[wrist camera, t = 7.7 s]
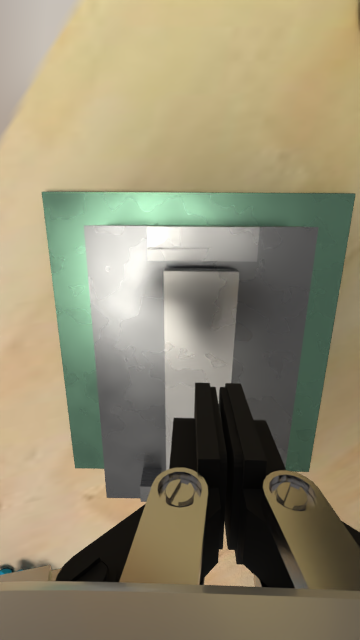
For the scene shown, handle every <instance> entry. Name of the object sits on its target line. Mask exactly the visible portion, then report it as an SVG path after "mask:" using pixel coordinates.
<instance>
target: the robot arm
mask: <svg viewBox="0 0 360 640" xmlns="http://www.w3.org/2000/svg"><path fill="white" fill-rule="evenodd" d="M224 521H225V530H226V538H227V546H228V549H229V550H235V555H236V562H237V564H243V565H245V566H246V567H247V568H248V569H249V570H250V571H251V572H252V573H253V574H254V584H255V587H242V586H215V585H204V581H205V576H206V575H207V574H208V573H209V572H210V571H211V570H212V568H213V567H214V566H215V565H216V564H217V563H218V552H219V549H223V535H224ZM0 640H360V532H358V531H357V530H355V529H353V528H352V527H350V526H349V525H347V524H345V523H344V522H342V521H341V520H340V518H339V517H338V516H337V514H336V513H335V511H334V510H333V508H332V507H331V505H330V504H329V503H328V501H327V500H326V498H325V497H324V495H323V494H322V492H321V491H320V489H319V488H318V487H317V486H316V485H315V484H314V483H313V482H312V481H311V480H309V479H308V478H307V477H305V476H303V475H301V474H299V473H296V472H292V471H286V468H285V466H284V463H283V461H282V458H281V456H280V453H279V451H278V449H277V446H276V444H275V441H274V439H273V436H272V434H271V431H270V429H269V426H268V424H267V422H266V420H253V418H252V415H251V412H250V409H249V406H248V403H247V400H246V397H245V394H244V391H243V388H242V385H241V383H226V384H225V387H220V390H219V404H218V398H217V392H216V387H210V383H195V403H194V418H174V419H173V430H172V442H171V454H170V465H169V469H168V470H166V471H164V472H162V473H161V474H159V475H158V476H157V477H156V478H155V480H154V482H153V484H152V487H151V490H150V493H149V496H148V499H147V501H146V504H145V505H143V506H142V507H141V508H139V509H138V510H137V511H135V512H134V513H132V514H131V515H130V516H128V517H127V518H126V519H124V520H123V521H121V522H120V523H119V524H117V525H116V526H115V527H113V528H112V529H110V530H109V531H108V532H106V533H105V534H103V535H102V536H101V537H99V538H98V539H97V540H95V541H94V542H92V543H91V544H90V545H88V546H87V547H86V548H84V549H83V550H81V551H80V552H79V553H77V554H76V555H75V556H73V557H72V558H71V559H70V560H69V561H68V562H67V563H66V564H65V565H64V566H63V568H60V569H56V570H51V565H47V566H42V567H37V568H33V569H28V570H23V571H18V572H13V573H8V574H3V575H0Z"/></svg>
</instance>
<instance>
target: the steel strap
mask: <svg viewBox="0 0 360 640" xmlns="http://www.w3.org/2000/svg"><path fill="white" fill-rule="evenodd" d="M238 284H239V271H238V270H237V269H216V268H164V340H165V417H166V470H168V469H169V465H170V454H171V442H172V430H173V419H174V418H194V403H195V383H210V387H216V392H217V398H218V404H219V390H220V387H225V384H226V383H231V378H232V364H233V351H234V337H235V324H236V311H237V297H238Z"/></svg>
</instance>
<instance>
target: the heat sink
mask: <svg viewBox="0 0 360 640" xmlns="http://www.w3.org/2000/svg"><path fill="white" fill-rule="evenodd" d="M42 198H43V207H44V215H45V223H46V231H47V240H48V248H49V256H50V264H51V273H52V281H53V289H54V297H55V306H56V314H57V322H58V330H59V339H60V347H61V355H62V363H63V372H64V380H65V388H66V396H67V405H68V413H69V421H70V429H71V438H72V446H73V454H74V463H75V468H100V469H104V470H105V482H106V493H107V498H141V502H146V501H147V499H148V496H149V493H150V490H151V487H152V484H153V482H154V480H155V478H156V477H157V476H158V475H159V474H161V473H162V472H164V471H166V417H165V340H164V268H216V269H237V270H238V271H239V284H238V297H237V311H236V324H235V337H234V351H233V364H232V378H231V383H241V385H242V388H243V391H244V394H245V397H246V400H247V403H248V406H249V409H250V412H251V415H252V418H253V420H266V422H267V424H268V426H269V429H270V431H271V434H272V436H273V439H274V441H275V444H276V446H277V449H278V451H279V453H280V456H281V458H282V461H283V463H284V466H285V468H286V471H293V472H309V468H310V462H311V456H312V450H313V444H314V438H315V432H316V426H317V420H318V414H319V408H320V402H321V396H322V390H323V384H324V378H325V372H326V366H327V361H328V355H329V349H330V343H331V337H332V331H333V325H334V319H335V313H336V307H337V301H338V295H339V289H340V283H341V277H342V271H343V265H344V259H345V253H346V247H347V241H348V235H349V229H350V224H351V218H352V212H353V206H354V200H355V194H345V193H175V192H42Z"/></svg>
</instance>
